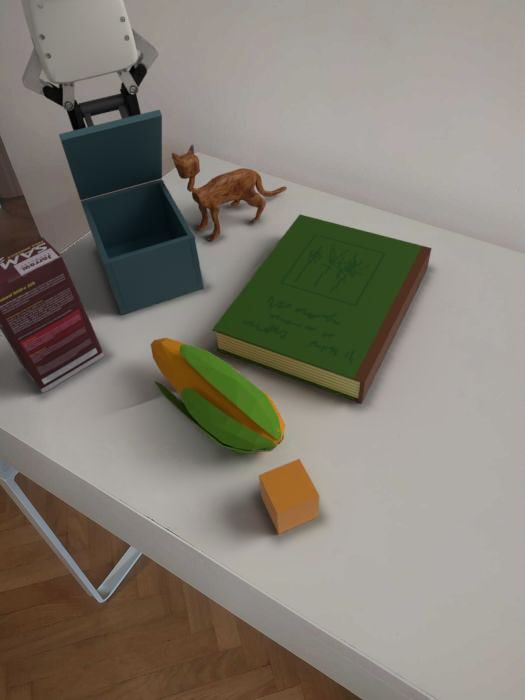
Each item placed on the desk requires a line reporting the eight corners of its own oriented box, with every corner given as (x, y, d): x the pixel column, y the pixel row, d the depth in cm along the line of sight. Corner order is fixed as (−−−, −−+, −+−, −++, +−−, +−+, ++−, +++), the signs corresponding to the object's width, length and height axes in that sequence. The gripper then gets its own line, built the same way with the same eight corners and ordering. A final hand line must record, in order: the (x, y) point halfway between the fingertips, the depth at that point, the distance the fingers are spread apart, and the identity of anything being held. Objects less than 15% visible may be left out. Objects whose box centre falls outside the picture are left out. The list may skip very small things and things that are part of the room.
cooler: (203, 288, 77) (194, 236, 71) (121, 315, 75) (103, 263, 68) (172, 229, 86) (161, 178, 80) (98, 252, 84) (80, 201, 77)
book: (362, 403, 63) (364, 382, 60) (215, 350, 70) (212, 329, 67) (428, 266, 77) (433, 244, 75) (302, 232, 84) (302, 211, 81)
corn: (248, 443, 52) (117, 335, 61) (250, 487, 57) (129, 381, 67) (303, 397, 55) (170, 302, 65) (299, 442, 61) (178, 349, 71)
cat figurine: (274, 185, 92) (270, 101, 82) (300, 203, 89) (299, 118, 78) (179, 231, 86) (161, 146, 76) (202, 252, 82) (188, 166, 72)
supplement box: (86, 336, 72) (43, 234, 61) (106, 357, 70) (65, 255, 58) (23, 372, 69) (-36, 271, 57) (41, 396, 66) (-17, 296, 55)
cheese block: (278, 534, 54) (276, 513, 51) (261, 497, 57) (258, 474, 53) (318, 517, 55) (319, 495, 52) (299, 481, 57) (299, 458, 54)
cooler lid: (162, 115, 64) (147, 76, 65) (60, 140, 62) (46, 99, 62) (162, 178, 79) (150, 146, 80) (80, 200, 77) (68, 167, 77)
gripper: (135, -74, 59) (168, 100, 72) (-37, -42, 55) (32, 134, 69) (156, -56, 54) (187, 126, 68) (-31, -20, 50) (42, 165, 64)
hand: (109, 129), depth 68 cm, fingers open, 5 cm apart
